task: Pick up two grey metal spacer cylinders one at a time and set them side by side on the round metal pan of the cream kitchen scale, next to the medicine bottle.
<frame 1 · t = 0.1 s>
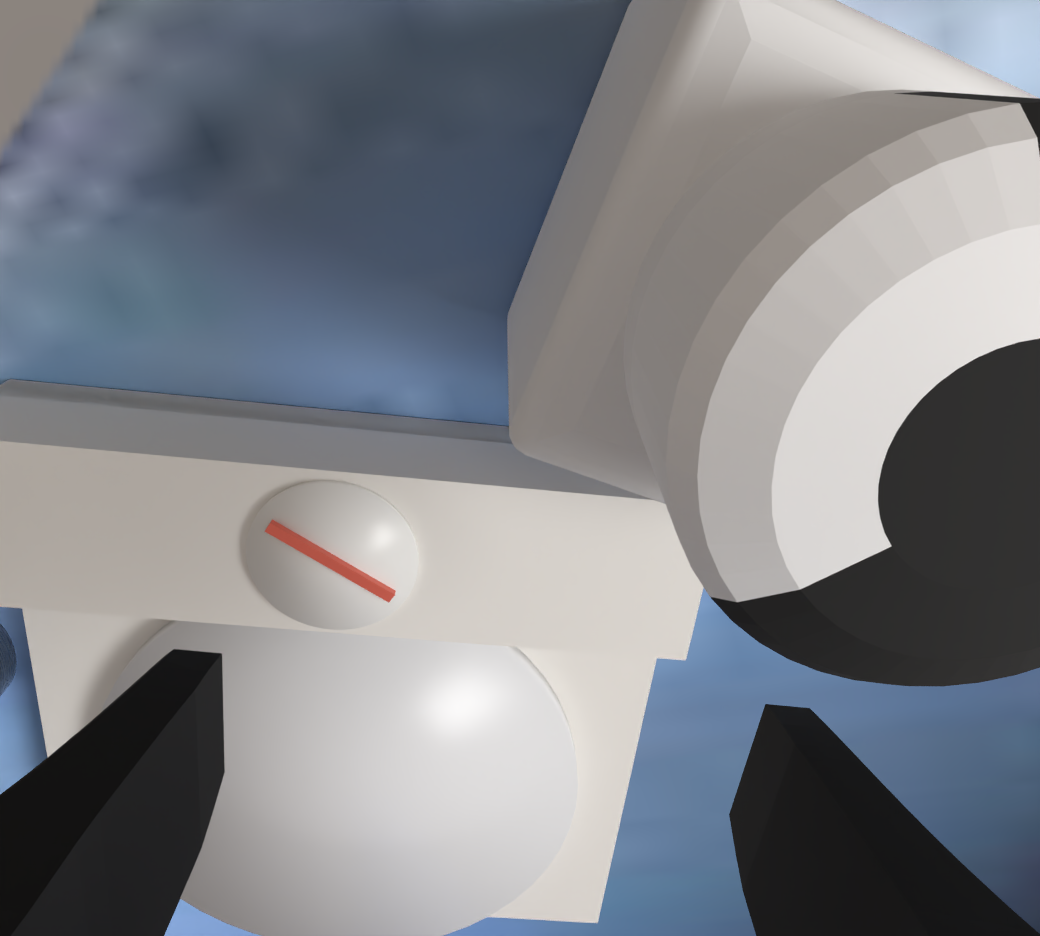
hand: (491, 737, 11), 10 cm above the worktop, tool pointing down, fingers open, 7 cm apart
scale: (351, 680, 23), on the worktop
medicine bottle: (712, 229, 19), on the worktop
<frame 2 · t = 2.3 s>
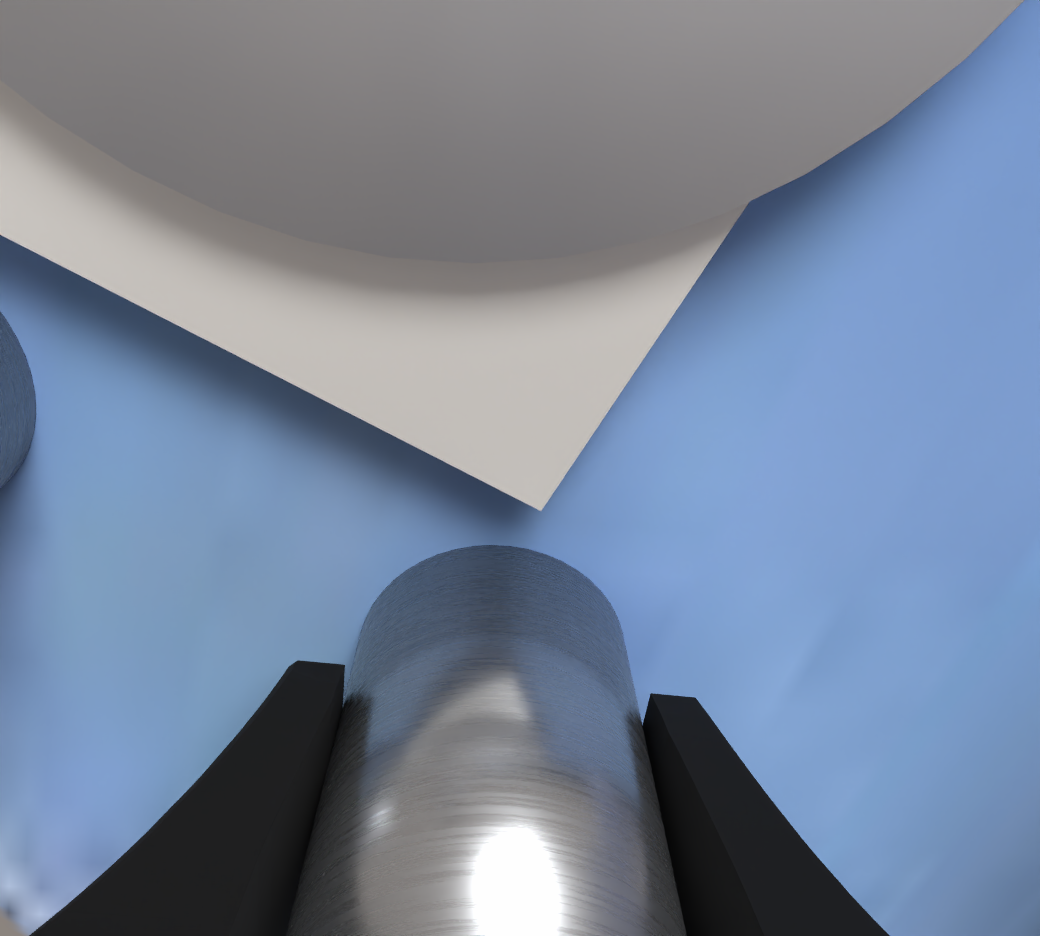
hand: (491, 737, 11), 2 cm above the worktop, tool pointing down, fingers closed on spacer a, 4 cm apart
spacer a: (492, 659, 13), on the worktop, touching gripper
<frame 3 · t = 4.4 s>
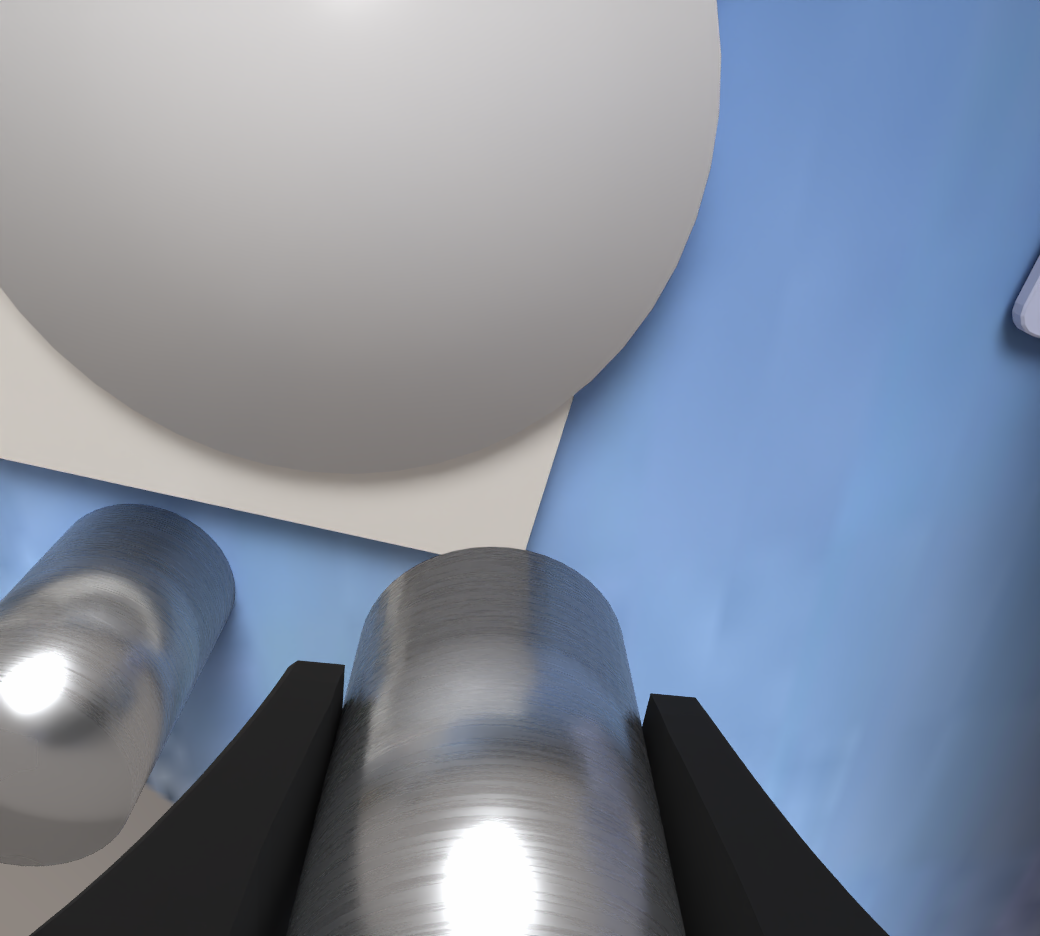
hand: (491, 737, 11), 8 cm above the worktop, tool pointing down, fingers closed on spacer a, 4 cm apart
spacer a: (492, 660, 13), point 6 cm above the worktop, touching gripper
scale: (195, 68, 15), on the worktop
spacer b: (146, 581, 19), on the worktop
when the fingers open (5 cm above the worktop, at t = 6.4 s): spacer a drops 1 cm, resting on scale.
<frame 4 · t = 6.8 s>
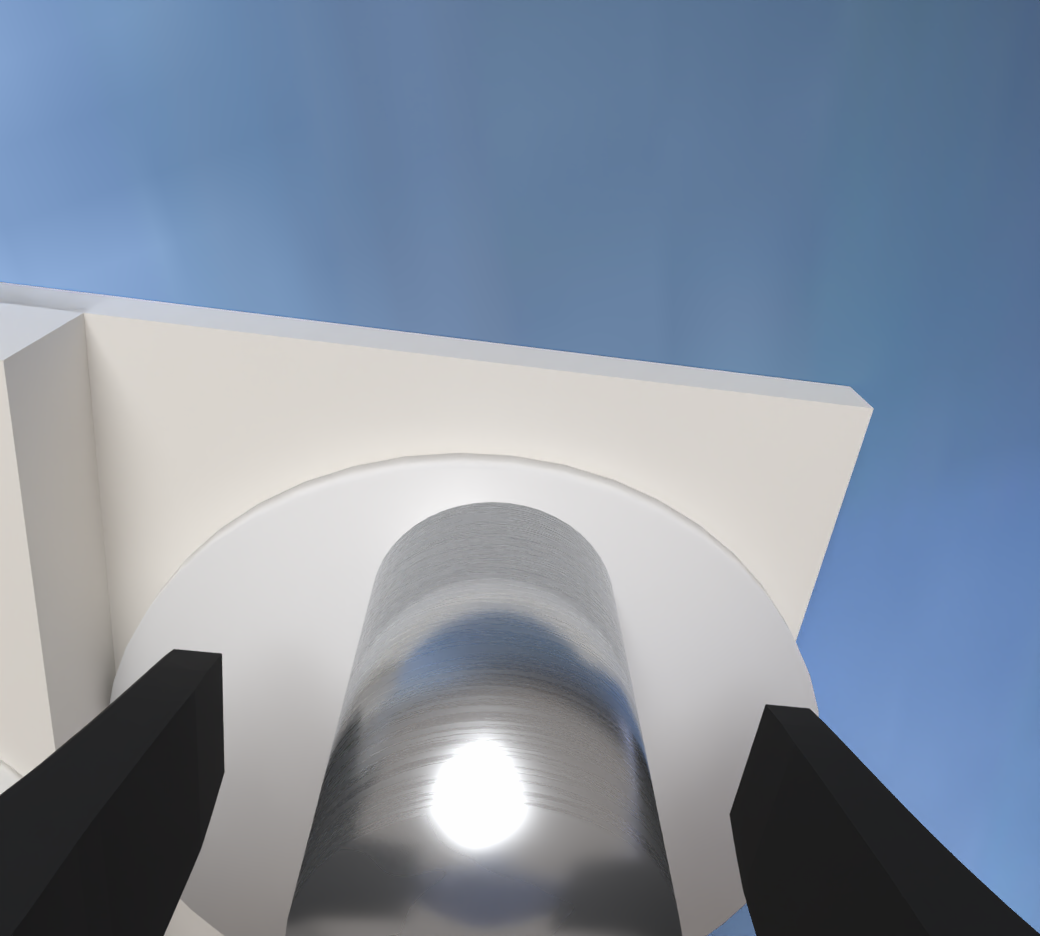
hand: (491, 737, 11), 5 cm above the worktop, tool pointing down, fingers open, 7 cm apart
spacer a: (492, 609, 14), point 2 cm above the worktop, touching scale
scale: (346, 713, 17), on the worktop
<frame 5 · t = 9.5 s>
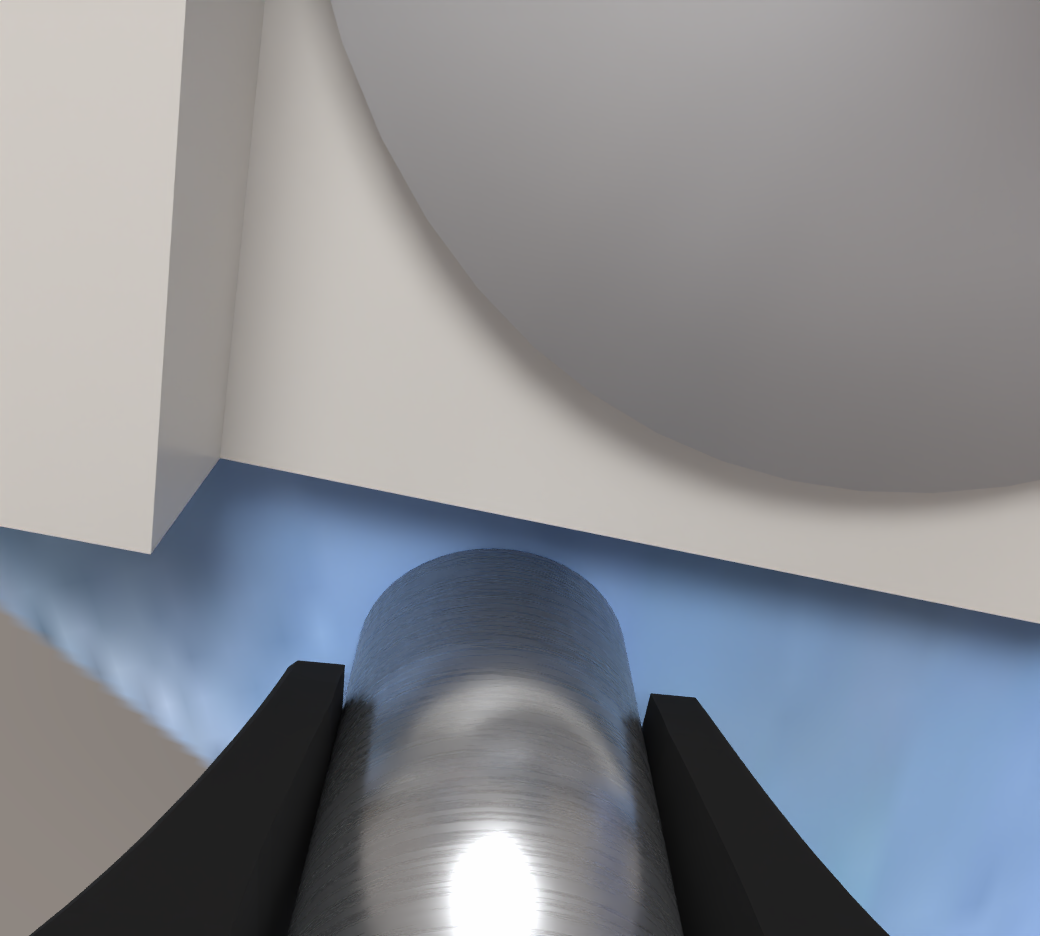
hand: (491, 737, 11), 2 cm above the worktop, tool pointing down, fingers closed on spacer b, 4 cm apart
spacer b: (492, 661, 13), on the worktop, touching gripper
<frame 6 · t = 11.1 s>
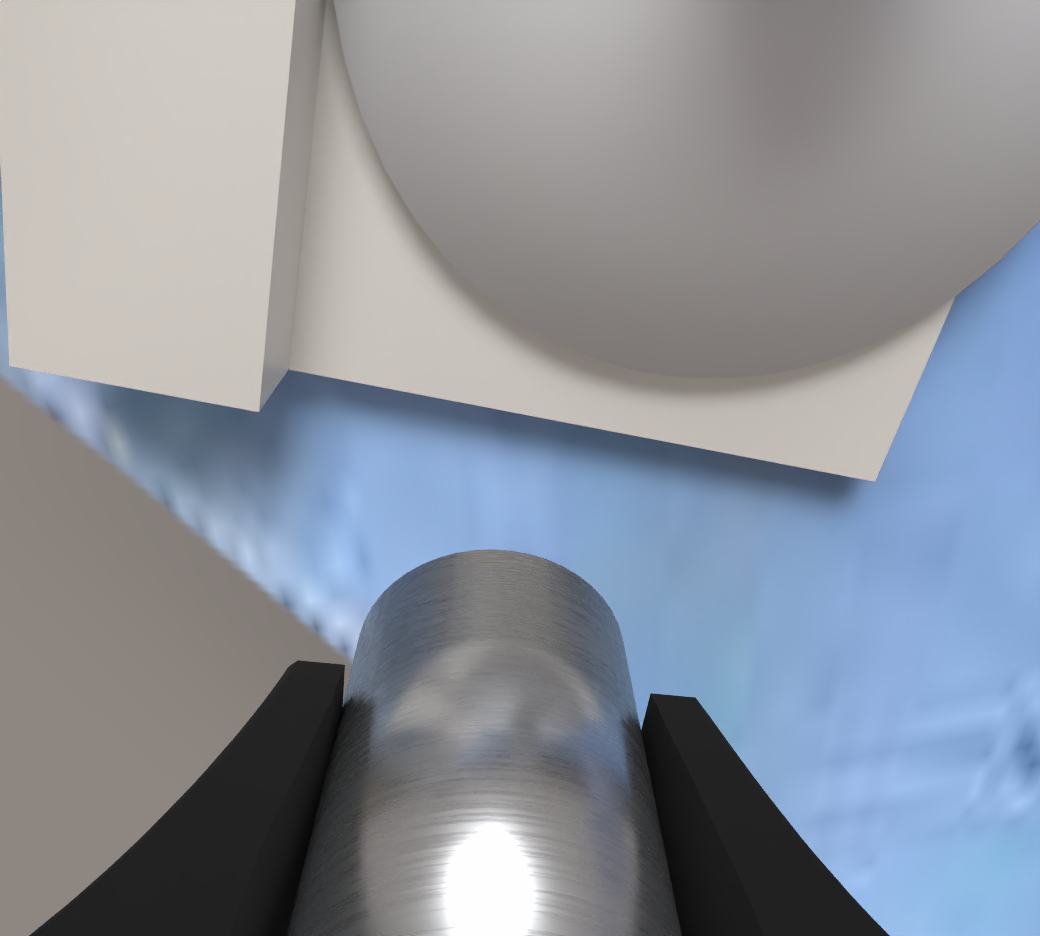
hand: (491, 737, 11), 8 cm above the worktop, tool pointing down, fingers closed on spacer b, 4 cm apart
spacer b: (491, 662, 13), point 6 cm above the worktop, touching gripper
when the fingers open (5 cm above the worktop, at t = 12.7 s): spacer b drops 1 cm, resting on scale.
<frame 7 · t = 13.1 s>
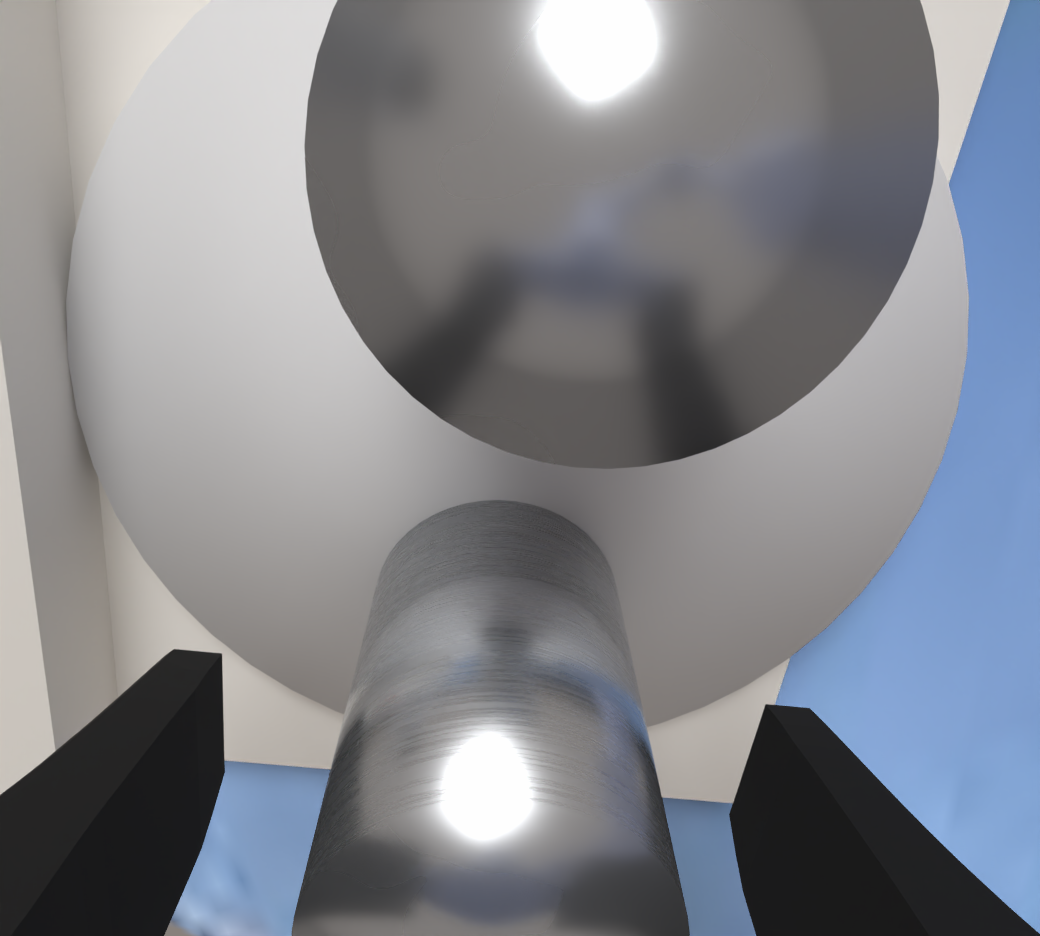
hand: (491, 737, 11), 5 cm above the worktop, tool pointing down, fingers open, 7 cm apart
spacer a: (562, 124, 11), point 2 cm above the worktop, touching scale
scale: (366, 357, 14), on the worktop
spacer b: (496, 607, 14), point 2 cm above the worktop, touching scale
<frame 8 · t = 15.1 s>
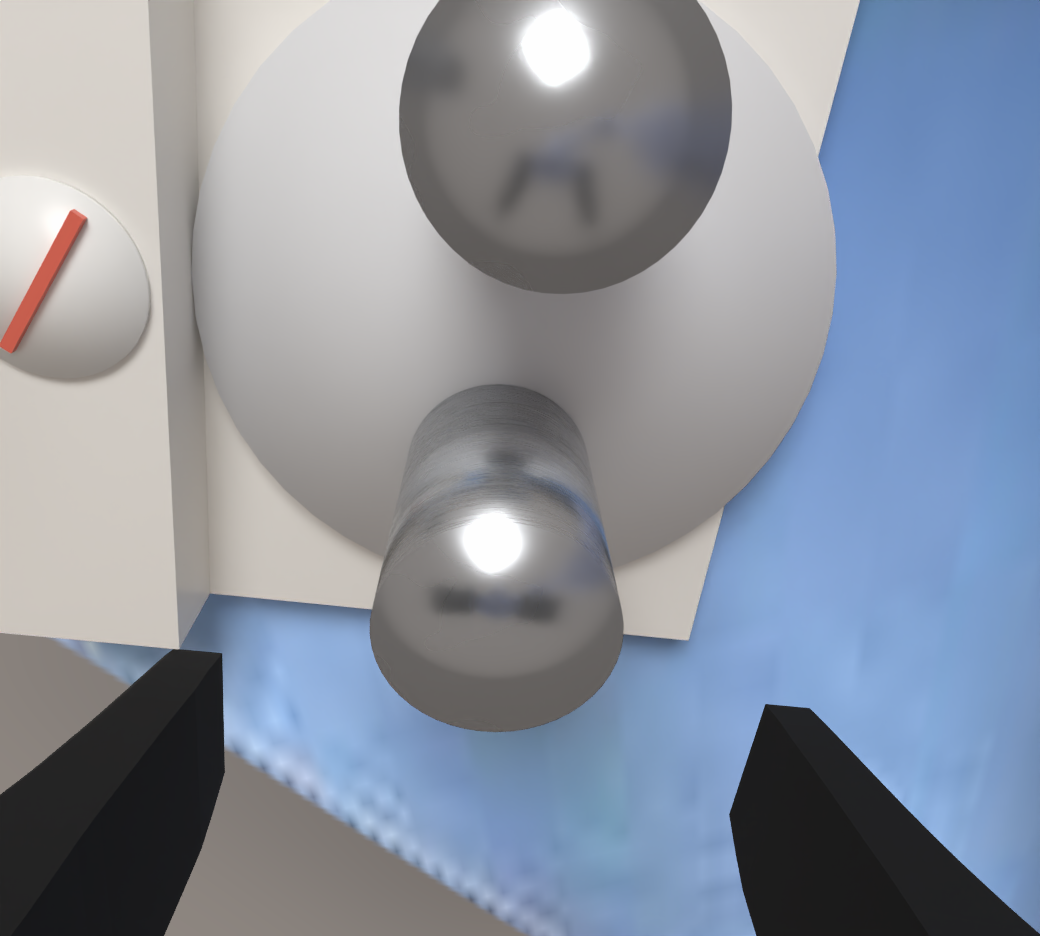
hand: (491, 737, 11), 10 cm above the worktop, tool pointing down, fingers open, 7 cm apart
spacer a: (544, 106, 16), point 2 cm above the worktop, touching scale
scale: (401, 281, 19), on the worktop
spacer b: (498, 469, 19), point 2 cm above the worktop, touching scale
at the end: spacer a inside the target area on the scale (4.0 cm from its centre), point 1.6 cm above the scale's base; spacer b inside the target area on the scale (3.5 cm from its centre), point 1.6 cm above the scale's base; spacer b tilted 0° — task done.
